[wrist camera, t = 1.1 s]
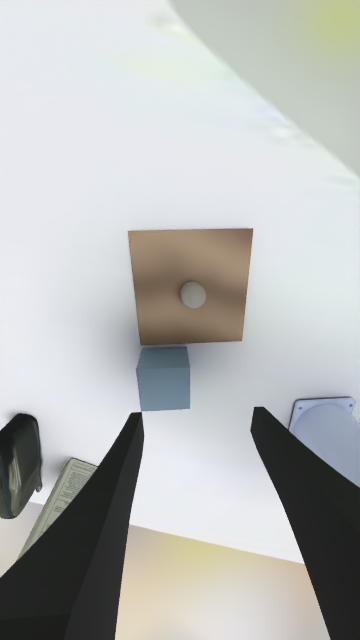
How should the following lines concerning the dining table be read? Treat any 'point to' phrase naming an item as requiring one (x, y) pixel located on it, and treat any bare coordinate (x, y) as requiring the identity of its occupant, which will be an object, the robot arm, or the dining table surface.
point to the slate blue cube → (164, 379)
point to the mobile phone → (18, 464)
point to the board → (183, 265)
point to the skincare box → (60, 497)
